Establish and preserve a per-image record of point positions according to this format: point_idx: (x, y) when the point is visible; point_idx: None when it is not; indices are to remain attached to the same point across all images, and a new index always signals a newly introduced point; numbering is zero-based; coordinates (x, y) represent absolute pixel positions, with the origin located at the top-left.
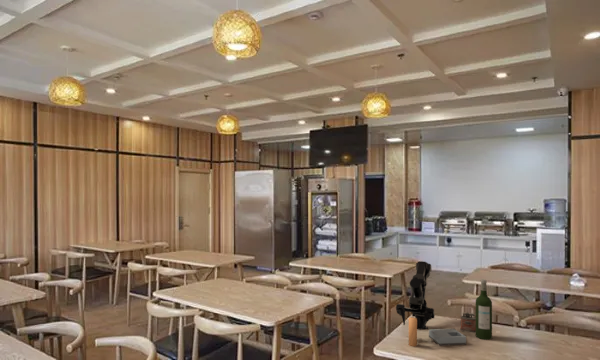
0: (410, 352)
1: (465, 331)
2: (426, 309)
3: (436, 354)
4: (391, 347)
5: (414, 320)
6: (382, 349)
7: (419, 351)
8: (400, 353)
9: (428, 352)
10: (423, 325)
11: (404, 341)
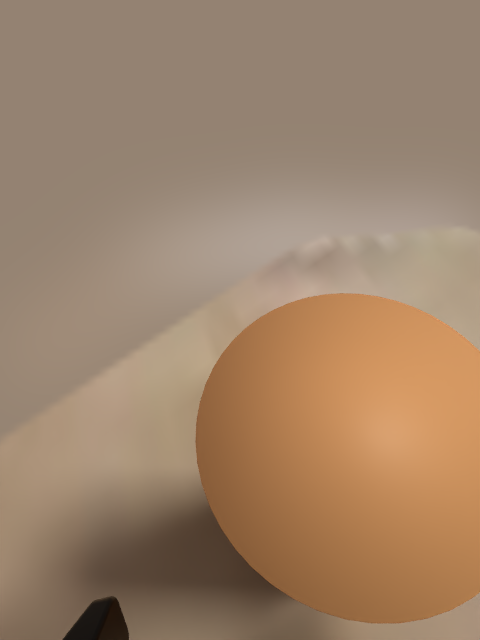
0: (250, 320)
1: None
2: None
3: (32, 419)
4: (445, 318)
5: (248, 336)
6: (469, 239)
7: (188, 389)
8: (309, 257)
9: (107, 419)
10: (75, 631)
11: (466, 601)
